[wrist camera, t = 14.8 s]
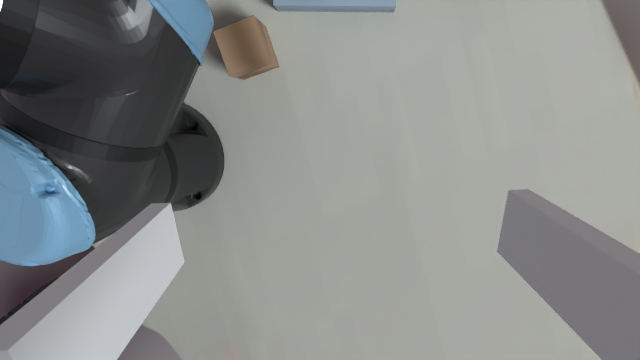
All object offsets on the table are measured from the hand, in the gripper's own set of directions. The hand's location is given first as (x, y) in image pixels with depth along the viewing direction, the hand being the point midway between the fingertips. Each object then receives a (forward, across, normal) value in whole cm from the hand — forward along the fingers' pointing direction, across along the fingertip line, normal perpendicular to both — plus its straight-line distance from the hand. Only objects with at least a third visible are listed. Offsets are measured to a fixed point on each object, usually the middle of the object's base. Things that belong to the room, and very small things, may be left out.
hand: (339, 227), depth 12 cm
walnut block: (+32, -9, +8) cm, 34 cm away
